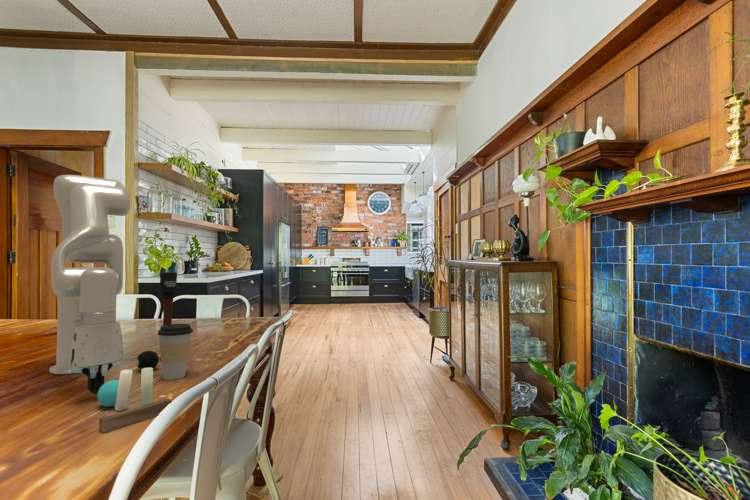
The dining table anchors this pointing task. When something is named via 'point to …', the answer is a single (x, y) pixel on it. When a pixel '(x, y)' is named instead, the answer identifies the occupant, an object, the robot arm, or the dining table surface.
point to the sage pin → (146, 385)
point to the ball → (108, 393)
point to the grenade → (168, 294)
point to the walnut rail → (132, 415)
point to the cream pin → (123, 390)
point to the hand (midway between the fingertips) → (95, 392)
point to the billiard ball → (147, 360)
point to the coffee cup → (174, 349)
